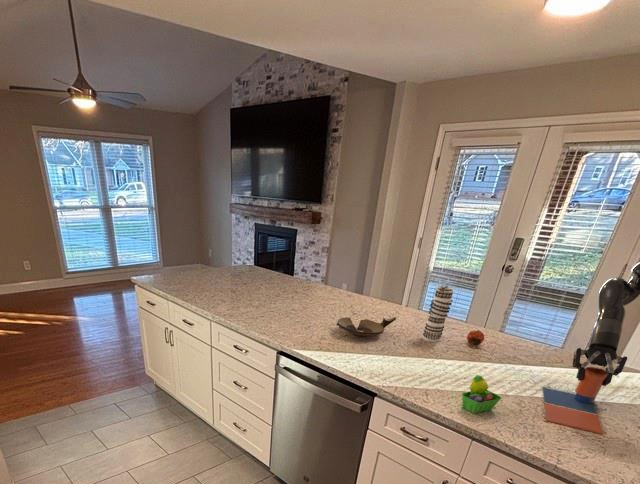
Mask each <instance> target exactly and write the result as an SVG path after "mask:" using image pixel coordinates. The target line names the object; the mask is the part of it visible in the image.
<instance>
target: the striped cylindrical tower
mask: <svg viewBox="0 0 640 484" xmlns="http://www.w3.org/2000/svg"><path fill="white" fill-rule="evenodd" d="M454 293H455V290H454V289H453V287H452V286H449V285H445V284H443V285H439V286H438V287H436V288H435V293H434V296H433V299H432V300H431V301H430V305H429V306H430V308H429V311H428V315H429V316H428V319H427V321H426V323H425V326H424V330H423V333H422V339H423V340H425V341H427V342H432V343H437V342H440V341H441V339H442V336H443V332H444V329H445V324H446V323H445V322H446V318H447V317H448V316H449V315H448V313H449V312H450V309H451V307H450V306H452V304H453V303H452V302H453V299H452V298H453V294H454Z"/></svg>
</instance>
